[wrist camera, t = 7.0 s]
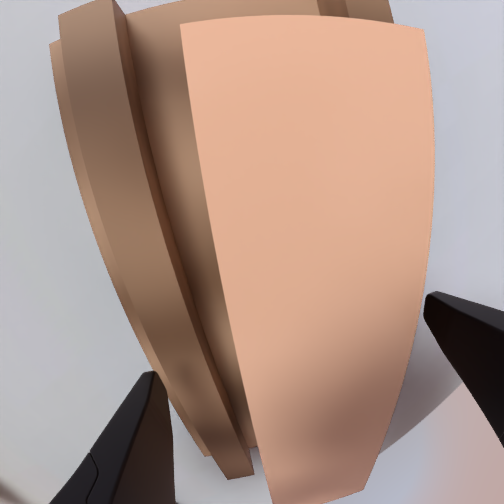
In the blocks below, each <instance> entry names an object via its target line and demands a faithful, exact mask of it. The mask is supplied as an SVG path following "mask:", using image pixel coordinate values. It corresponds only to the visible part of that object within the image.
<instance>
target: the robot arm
mask: <svg viewBox="0 0 504 504" xmlns="http://www.w3.org/2000/svg"><path fill="white" fill-rule="evenodd" d="M423 316H424V320H425V322H426V323H427V325H428V327H429V329H430V330H431V332H432V334H433V335H434V337H435V339H436V341H437V343H438V344H439V346H440V348H441V350H442V351H443V353H444V354H445V356H446V357H447V359H448V360H449V362H450V363H451V365H452V366H453V367H454V369H455V370H456V372H457V373H458V375H459V376H460V378H461V379H462V381H463V382H464V384H465V385H466V387H467V388H468V389H469V391H470V393H471V394H472V396H473V397H474V399H475V401H476V402H477V404H478V405H479V407H480V408H481V410H482V411H483V413H484V415H485V416H486V418H487V420H488V421H489V423H490V425H491V426H492V428H493V430H494V431H495V433H496V435H497V436H498V438H499V440H500V442H501V444H502V445H503V447H504V311H501V310H498V309H494V308H491V307H488V306H485V305H481V304H478V303H475V302H472V301H468V300H465V299H462V298H458V297H455V296H452V295H449V294H445V293H442V292H439V291H435V292H432V293H430V294H428V295H427V296H426V298H425V305H424V312H423ZM49 504H175V485H174V459H173V433H172V426H171V418H170V410H169V402H168V394H167V390H166V388H165V386H164V384H163V382H162V380H161V378H160V376H159V374H158V373H157V372H156V371H149V372H144V373H143V374H142V375H141V376H140V378H139V379H138V381H137V382H136V384H135V385H134V386H133V388H132V389H131V391H130V392H129V394H128V395H127V397H126V398H125V400H124V401H123V402H122V404H121V405H120V407H119V408H118V410H117V411H116V413H115V414H114V416H113V417H112V419H111V420H110V421H109V423H108V424H107V426H106V427H105V429H104V430H103V432H102V433H101V435H100V436H99V438H98V439H97V441H96V442H95V444H94V445H93V447H92V448H91V450H90V453H88V454H87V455H86V457H85V458H84V460H83V461H82V463H81V464H80V466H79V467H78V468H77V470H76V471H75V473H74V474H73V475H72V476H71V478H70V479H69V480H68V481H67V483H66V484H65V485H64V486H63V488H62V489H61V490H60V491H59V492H58V494H57V495H56V496H55V497H54V498H53V499H52V501H51V502H50V503H49Z"/></svg>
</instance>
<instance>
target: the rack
mask: <svg viewBox="0 0 504 504" xmlns="http://www.w3.org/2000/svg"><path fill="white" fill-rule="evenodd" d="M262 15H315V16H333V17H346V18H356V19H365V20H373V21H380V22H386V23H392V24H394V21H393V17H392V13H391V9H390V5H389V1H388V0H182V1H177V2H172V3H168V4H163V5H159V6H155V7H151V8H147V9H144V10H140V11H137V12H133V13H130V14H126V15H125V14H124V13H123V11H122V10H121V8H120V7H119V5H118V4H117V2H116V1H115V0H95V1H92V2H90V3H87V4H84V5H82V6H79V7H77V8H74V9H72V10H70V11H67V12H65V13H63V14H60V15H58V19H59V30H60V39H59V40H57V41H55V42H53V43H51V44H49V46H50V54H51V62H52V69H53V76H54V82H55V88H56V94H57V99H58V104H59V109H60V114H61V119H62V124H63V128H64V133H65V137H66V141H67V145H68V149H69V153H70V157H71V161H72V165H73V169H74V172H75V176H76V179H77V183H78V186H79V190H80V193H81V196H82V199H83V203H84V206H85V209H86V212H87V215H88V218H89V221H90V224H91V227H92V230H93V233H94V236H95V238H96V241H97V244H98V247H99V249H100V252H101V255H102V257H103V260H104V263H105V265H106V268H107V270H108V273H109V275H110V278H111V280H112V283H113V285H114V288H115V290H116V292H117V295H118V297H119V299H120V302H121V304H122V306H123V309H124V311H125V313H126V315H127V317H128V320H129V322H130V324H131V326H132V328H133V330H134V333H135V335H136V337H137V339H138V341H139V343H140V345H141V347H142V349H143V351H144V353H145V355H146V357H147V359H148V361H149V363H150V365H151V367H152V369H153V370H154V371H156V372H157V373H158V374H159V376H160V378H161V380H162V382H163V384H164V386H165V388H166V390H167V394H168V398H169V400H170V401H171V403H172V405H173V407H174V408H175V410H176V412H177V413H178V415H179V417H180V418H181V420H182V422H183V423H184V425H185V427H186V428H187V430H188V432H189V433H190V435H191V436H192V438H193V439H194V441H195V443H196V444H197V446H198V447H199V449H200V450H201V452H202V453H203V455H204V456H211V455H212V457H213V458H214V460H215V461H216V463H217V465H218V466H219V468H220V469H221V471H222V472H223V474H224V475H225V477H226V478H227V480H230V479H235V478H240V477H246V476H251V475H255V474H254V470H253V465H252V461H251V456H250V452H249V448H252V447H257V446H258V444H257V440H256V436H255V432H254V428H253V424H252V420H251V415H250V411H249V407H248V403H247V398H246V394H245V390H244V385H243V381H242V376H241V372H240V367H239V363H238V358H237V354H236V349H235V345H234V340H233V335H232V331H231V326H230V321H229V316H228V311H227V307H226V302H225V297H224V292H223V287H222V282H221V277H220V272H219V266H218V261H217V256H216V251H215V246H214V240H213V235H212V229H211V224H210V218H209V213H208V207H207V202H206V196H205V190H204V185H203V179H202V173H201V167H200V161H199V155H198V149H197V142H196V136H195V130H194V123H193V117H192V110H191V103H190V97H189V90H188V83H187V76H186V69H185V61H184V54H183V46H182V38H181V30H180V24H184V23H190V22H197V21H204V20H212V19H221V18H231V17H244V16H262Z"/></svg>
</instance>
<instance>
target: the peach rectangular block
mask: <svg viewBox="0 0 504 504" xmlns="http://www.w3.org/2000/svg"><path fill="white" fill-rule="evenodd" d="M180 30H181V38H182V46H183V54H184V61H185V69H186V76H187V83H188V90H189V97H190V103H191V110H192V117H193V123H194V130H195V136H196V142H197V149H198V155H199V161H200V167H201V173H202V179H203V185H204V190H205V196H206V202H207V207H208V213H209V218H210V224H211V229H212V235H213V240H214V246H215V251H216V256H217V261H218V266H219V272H220V277H221V282H222V287H223V292H224V297H225V302H226V307H227V311H228V316H229V321H230V326H231V331H232V335H233V340H234V345H235V349H236V354H237V358H238V363H239V367H240V372H241V376H242V381H243V385H244V390H245V394H246V398H247V403H248V407H249V411H250V415H251V420H252V424H253V428H254V432H255V436H256V440H257V444H258V448H259V452H260V456H261V460H262V464H263V468H264V472H265V476H266V480H267V484H268V487H269V491H270V495H271V499H272V502H273V504H323V503H326V502H329V501H333V500H336V499H339V498H342V497H345V496H348V495H351V494H353V493H356V492H359V491H362V490H363V489H364V487H365V485H366V483H367V480H368V478H369V476H370V473H371V471H372V469H373V466H374V464H375V462H376V459H377V457H378V454H379V452H380V449H381V446H382V444H383V441H384V438H385V436H386V433H387V430H388V427H389V425H390V422H391V419H392V416H393V413H394V410H395V407H396V404H397V400H398V397H399V394H400V391H401V387H402V384H403V380H404V377H405V373H406V369H407V366H408V362H409V358H410V354H411V350H412V345H413V341H414V337H415V332H416V328H417V323H418V318H419V313H420V308H421V302H422V296H423V291H424V284H425V278H426V271H427V264H428V256H429V247H430V238H431V227H432V215H433V199H434V169H435V144H434V116H433V100H432V88H431V78H430V69H429V61H428V54H427V47H426V41H425V35H424V30H423V29H419V28H414V27H409V26H404V25H398V24H392V23H386V22H380V21H373V20H365V19H356V18H346V17H333V16H315V15H262V16H244V17H231V18H221V19H212V20H204V21H197V22H190V23H184V24H180Z"/></svg>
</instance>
